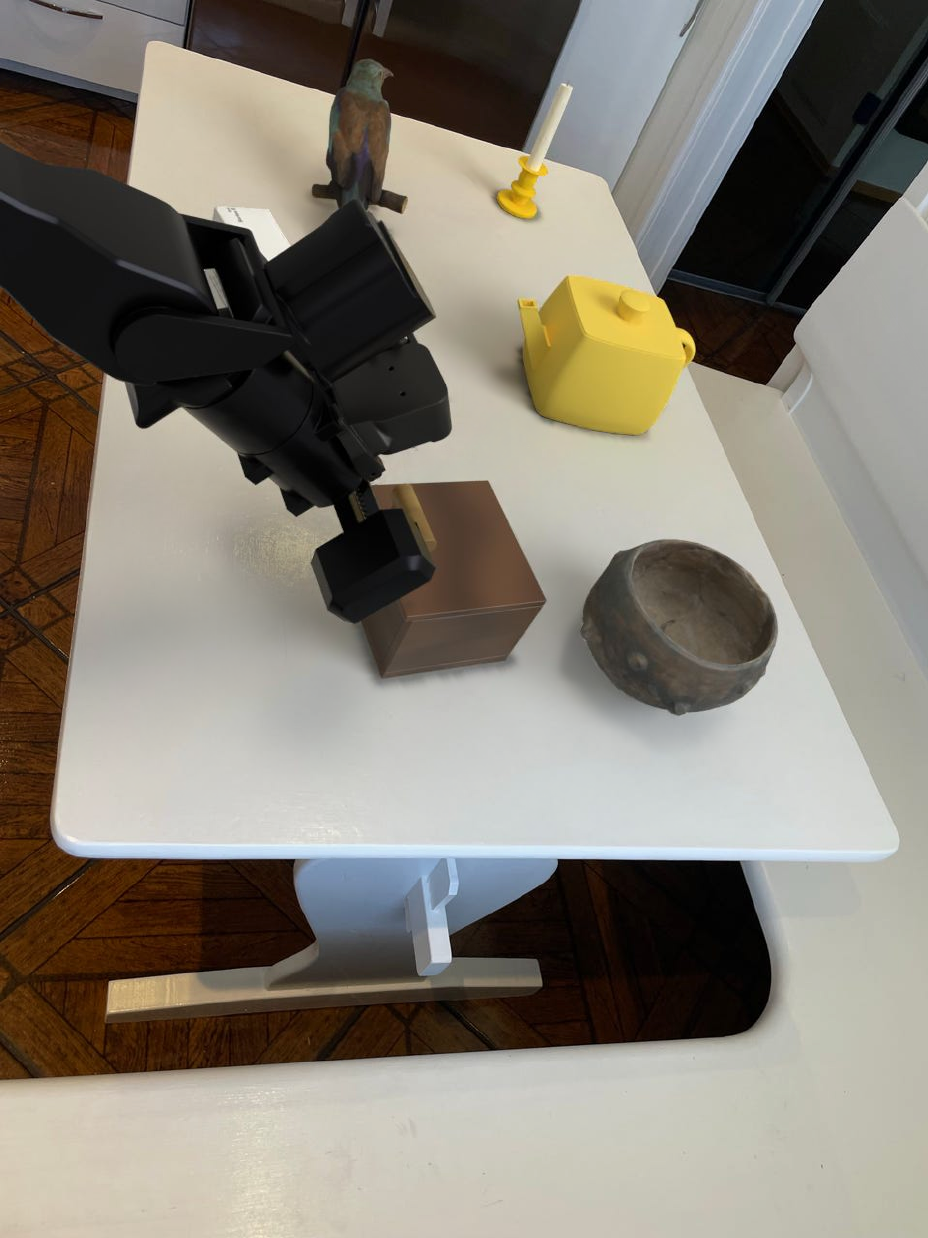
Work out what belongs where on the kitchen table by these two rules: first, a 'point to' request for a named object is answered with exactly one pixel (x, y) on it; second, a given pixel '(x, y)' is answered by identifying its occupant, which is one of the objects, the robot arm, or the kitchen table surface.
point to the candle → (534, 162)
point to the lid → (463, 550)
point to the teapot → (602, 355)
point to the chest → (443, 639)
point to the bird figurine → (360, 142)
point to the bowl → (679, 626)
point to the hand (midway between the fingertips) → (397, 528)
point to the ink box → (264, 234)
